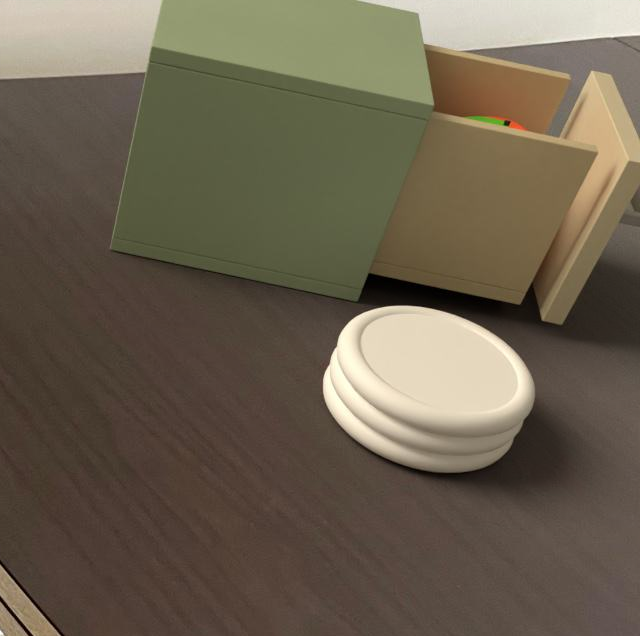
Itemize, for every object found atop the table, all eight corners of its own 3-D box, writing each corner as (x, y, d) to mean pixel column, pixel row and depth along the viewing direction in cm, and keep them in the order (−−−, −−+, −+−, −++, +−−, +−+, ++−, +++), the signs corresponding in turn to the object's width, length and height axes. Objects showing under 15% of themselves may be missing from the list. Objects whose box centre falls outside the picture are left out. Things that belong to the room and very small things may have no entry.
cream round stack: (450, 351, 65) (476, 297, 62) (545, 471, 59) (578, 416, 56) (289, 359, 62) (309, 303, 59) (370, 485, 56) (397, 429, 53)
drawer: (590, 238, 74) (672, 87, 67) (623, 338, 67) (720, 179, 59) (329, 183, 74) (383, 26, 67) (331, 276, 67) (393, 110, 60)
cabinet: (351, 197, 76) (418, 12, 67) (357, 302, 67) (435, 105, 58) (132, 151, 76) (171, -40, 67) (109, 250, 67) (151, 45, 59)
